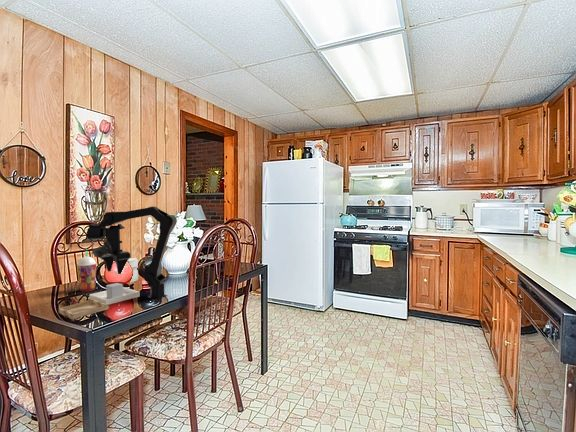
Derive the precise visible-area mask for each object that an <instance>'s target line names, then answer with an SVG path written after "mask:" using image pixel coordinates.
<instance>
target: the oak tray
mask: <svg viewBox="0 0 576 432" xmlns="http://www.w3.org/2000/svg"><path fill="white" fill-rule="evenodd" d="M107 310H110V304H109V305H107V304H104V303H101V302H99V301H96V300H91V299H89V300H86V301H82V302H78V303H73V304H70V305H65V306H62V307H58V314H60V315H62V316H63V317H67V318H69V319H70V320H72V321H73V320H77V319H80V318H82V317H85V316H88V315H92V314H96V313H99V312H100V313H101V312H103V311H107Z"/></svg>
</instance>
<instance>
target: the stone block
mask: <svg viewBox="0 0 576 432" xmlns="http://www.w3.org/2000/svg"><path fill="white" fill-rule="evenodd" d="M105 287H106V290H105V291H107V298H108V299H111V298H115V297H119V296H123V287H124V283H118V282H115V283H110V284H107V285H106V286H105Z"/></svg>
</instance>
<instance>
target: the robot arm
mask: <svg viewBox="0 0 576 432" xmlns="http://www.w3.org/2000/svg"><path fill="white" fill-rule="evenodd" d="M147 216H148V217H149V216H151V217H152V218H154V219H155V220H156V221H157V222H159V235H158V238H157V242H156V246H155V248H154V252H153V256H152V258H151V262H149V263H148V264H146V265H145V266H144V271H143V272H142V275H143V279H144V280H145V282H146V283H147V285H148V287H149V292H150V293H149V295H148V296H147V298H148V299H152V300H159V299H161V298H162V299H163V298H166V297H168V295H167V294H165V282H166V279H167V277H166V276H165V275H164V274H163V273H162V269H163V268H162V261H163V258H164V255H165V252H166V247H167V244H168V241H169V238H170V235H171V234H172V232H173V230H174V229H175V227H176V225H177V223H178V219H177V218H176V216H175V215H172V214H169V213H168V212H166V211H164V210H161V209H160V208H158V207H157V206H155V205H154V206H153V205H152V206H149V207H143V208H139V209H135V210H134V209H133V210H127V211H108V212H105V213H104V214H103V216H102V220H101V221H100V222H99V223H98V224H89V225H88V228H87V229H86V233H85V234H86V238H87V239H88V240H103V239H105V241H103V245H101V246H98V247H96V248H93V249H92V250H91V252H92V253H93V254H92V255H93V256H94V257H95V258H98V259H99V258H100V259H101V260H102V261H103V263H104V264H105V267H106V270H107V272H111V271H112V268H113V264H114V263H115V264H116V270H117V275H118V274H121V272H122V270H123V268H124V266H125V264H126V262H127V260H129V258H131V255H132V254H131V253H130V251H126V250H125V251H123V249H121V244H123V240H121V230H124V229H125V226H124V225H123V224H122V223H123V222H125V221H127V220H131V219H136V218H142V217H147Z"/></svg>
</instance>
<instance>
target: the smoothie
mask: <svg viewBox="0 0 576 432" xmlns="http://www.w3.org/2000/svg"><path fill="white" fill-rule="evenodd" d="M76 269H77V277H78V278H77V279H78V287H79V290H80V292H82V293H83V292H84V293H85V292H87V293H88V292H92V291H94V290H95V288H96V283H97V281H96V282H95V276H96V277H97V262H96V261H95V259H94V258H93V257H92V256H88V250H86V251H85V256H83V257H82V258H79V260H78V262H77V264H76Z"/></svg>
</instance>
